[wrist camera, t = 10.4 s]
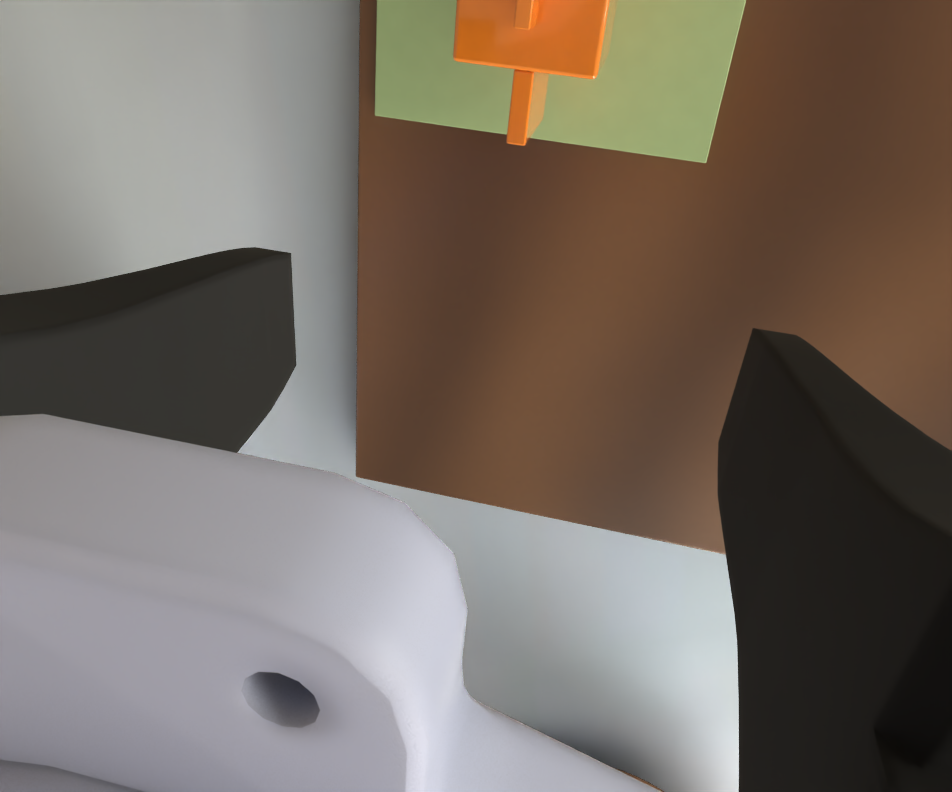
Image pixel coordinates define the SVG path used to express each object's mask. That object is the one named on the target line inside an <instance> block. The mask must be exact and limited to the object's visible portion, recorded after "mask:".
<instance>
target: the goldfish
mask: <svg viewBox="0 0 952 792" xmlns="http://www.w3.org/2000/svg"><path fill="white" fill-rule="evenodd" d="M616 6H617V0H457V3H456V17H455V32H454V47H453V58H454V60H455V61H457V62H462V63H469V64H477V65H484V66H492V67H500V68H507V69H515V70H514V73H513V83H512V92H511V101H510V111H509V120H508V129H507V138H506V142H507V143H508V144H513V145H520V146H525V145H526V143H527V142H528V140H529V139H530V137H531V136H532V134H533V133H534V132H535V130H536V129H537V127H538V126H539V124H540V123H541V121H542V120H543V116H544V108H545V100H546V93H547V85H548V77H549V74H553V75H560V76H568V77H575V78H583V79H590V80H592V79H596V77H597V75H598V74H599V72H600V70H601V68H602V66H603V64H604V62H605V60H606V58H607V56H608V54H609V48H610V42H611V36H612V30H613V24H614V18H615V12H616Z"/></svg>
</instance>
